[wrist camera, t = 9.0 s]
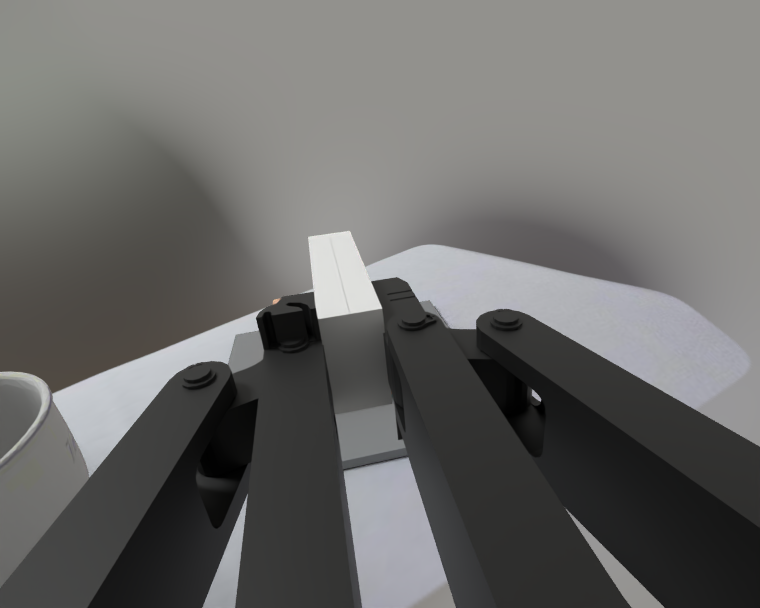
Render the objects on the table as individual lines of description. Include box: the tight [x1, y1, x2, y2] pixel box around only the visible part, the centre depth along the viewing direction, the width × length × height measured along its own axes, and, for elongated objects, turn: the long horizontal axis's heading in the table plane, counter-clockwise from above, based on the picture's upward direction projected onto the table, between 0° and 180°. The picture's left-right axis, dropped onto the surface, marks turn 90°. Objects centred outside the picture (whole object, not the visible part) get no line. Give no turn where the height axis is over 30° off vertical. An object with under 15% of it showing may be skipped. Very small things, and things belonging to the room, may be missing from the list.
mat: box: [228, 300, 448, 469], centre depth 33 cm, size 18×18×1 cm
